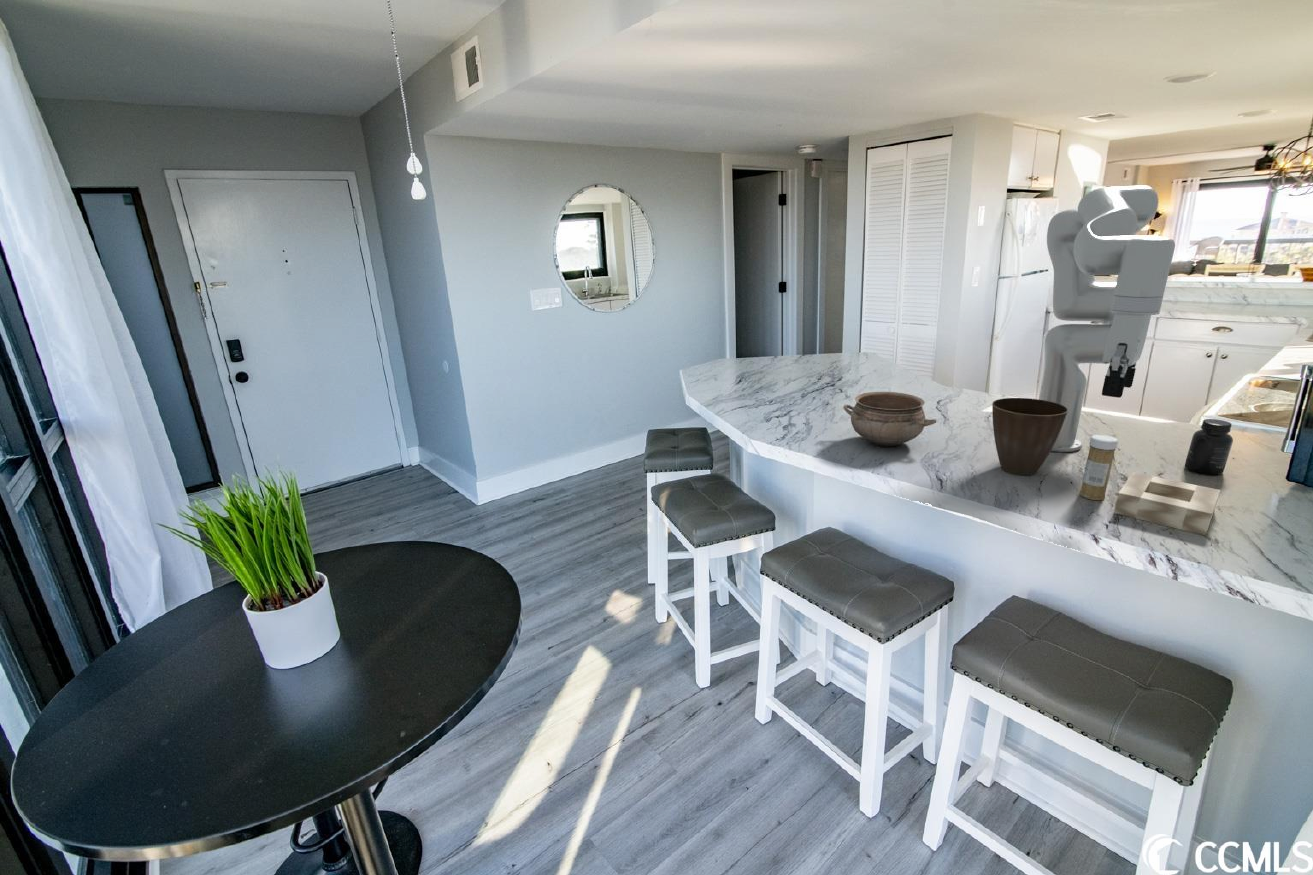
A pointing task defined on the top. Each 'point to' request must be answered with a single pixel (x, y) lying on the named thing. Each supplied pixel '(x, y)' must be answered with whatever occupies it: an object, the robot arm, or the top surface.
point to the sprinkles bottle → (1098, 467)
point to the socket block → (1167, 502)
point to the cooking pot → (888, 417)
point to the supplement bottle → (1210, 448)
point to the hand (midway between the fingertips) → (1116, 391)
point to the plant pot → (1025, 432)
